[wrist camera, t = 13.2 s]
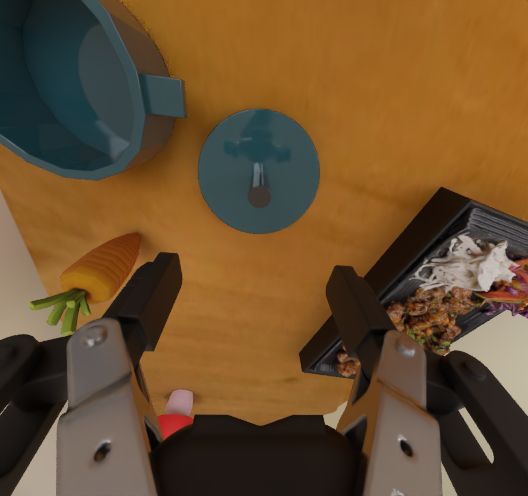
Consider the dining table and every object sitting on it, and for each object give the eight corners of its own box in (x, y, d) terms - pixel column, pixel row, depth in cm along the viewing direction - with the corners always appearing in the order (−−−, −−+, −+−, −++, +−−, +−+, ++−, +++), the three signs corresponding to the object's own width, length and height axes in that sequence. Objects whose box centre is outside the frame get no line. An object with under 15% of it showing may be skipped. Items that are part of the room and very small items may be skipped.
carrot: (113, 219, 27) (-4, 307, 15) (150, 220, 28) (64, 308, 15) (126, 248, 30) (36, 342, 18) (159, 249, 30) (92, 342, 18)
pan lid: (194, 99, 20) (173, 96, 15) (332, 118, 21) (356, 120, 16) (204, 225, 28) (192, 250, 23) (303, 233, 30) (312, 259, 24)
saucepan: (-63, -45, 15) (-269, -145, 9) (196, 1, 16) (162, -59, 11) (36, 153, 22) (-39, 167, 17) (205, 171, 24) (189, 189, 18)
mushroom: (206, 394, 64) (197, 446, 54) (182, 402, 67) (170, 452, 57) (181, 384, 59) (166, 439, 49) (157, 392, 62) (138, 446, 52)
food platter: (441, 186, 26) (529, 223, 17) (559, 235, 31) (672, 282, 22) (299, 353, 50) (307, 402, 42) (378, 365, 55) (400, 411, 47)
